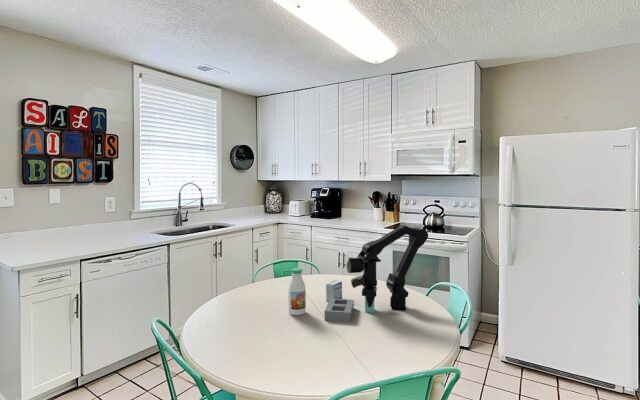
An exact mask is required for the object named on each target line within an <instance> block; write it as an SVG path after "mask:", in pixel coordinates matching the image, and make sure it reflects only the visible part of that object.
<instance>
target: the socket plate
mask: <svg viewBox="0 0 640 400" xmlns="http://www.w3.org/2000/svg"><path fill="white" fill-rule="evenodd" d="M354 301H355V300H354V299H351V298H350V299H349V298H347V299H345V298H341V299H333V298H330V300H329V301H327V302H328V303H327V304H326V306H325V308H324V321H330V322H331V321H333V322H344V323H345V322H347V323H351V322H352V321H351V320H352V316H353V313H354V309H355V307H354V305H355V304H354V303H355V302H354Z"/></svg>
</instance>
